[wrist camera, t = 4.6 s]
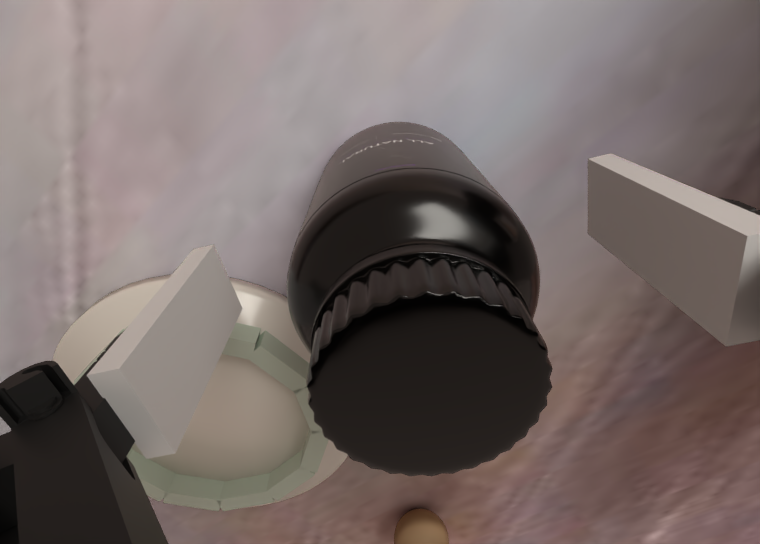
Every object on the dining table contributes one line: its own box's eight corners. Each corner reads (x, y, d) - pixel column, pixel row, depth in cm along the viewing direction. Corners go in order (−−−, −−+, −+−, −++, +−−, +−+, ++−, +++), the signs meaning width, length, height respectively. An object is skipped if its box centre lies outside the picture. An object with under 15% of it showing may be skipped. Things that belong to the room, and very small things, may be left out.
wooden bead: (387, 502, 28) (390, 557, 25) (439, 492, 28) (448, 547, 25) (398, 532, 30) (402, 588, 27) (447, 524, 30) (457, 579, 27)
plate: (-6, 312, 21) (-44, 340, 19) (313, 240, 19) (308, 262, 18) (149, 512, 28) (133, 547, 26) (388, 468, 27) (390, 501, 25)
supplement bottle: (393, 80, 17) (449, 134, 6) (504, 196, 19) (686, 384, 8) (284, 205, 19) (181, 409, 8) (395, 295, 21) (429, 546, 10)
